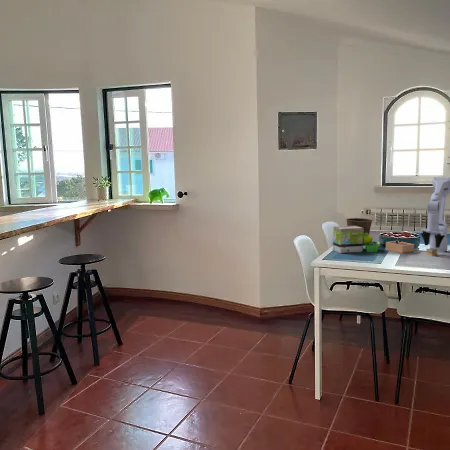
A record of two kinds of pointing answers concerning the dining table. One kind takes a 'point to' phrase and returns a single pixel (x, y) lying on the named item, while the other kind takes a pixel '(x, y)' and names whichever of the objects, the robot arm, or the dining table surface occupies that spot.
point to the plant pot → (360, 224)
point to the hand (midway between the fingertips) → (432, 246)
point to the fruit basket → (370, 243)
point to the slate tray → (407, 253)
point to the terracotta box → (399, 247)
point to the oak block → (431, 252)
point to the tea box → (348, 239)
